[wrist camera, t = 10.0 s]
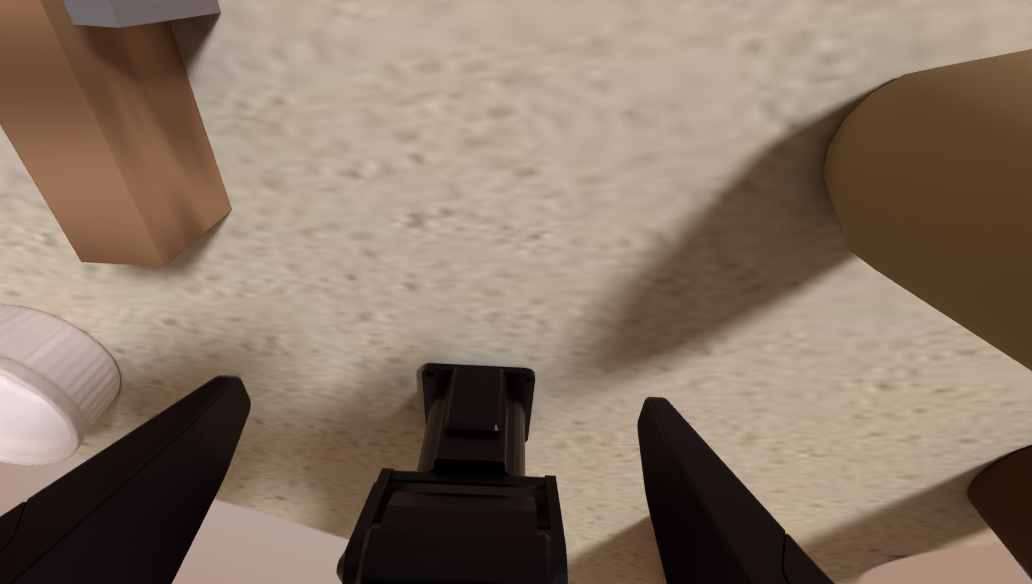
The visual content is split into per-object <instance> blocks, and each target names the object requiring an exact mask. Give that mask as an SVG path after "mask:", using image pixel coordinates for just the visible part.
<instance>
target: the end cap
mask: <svg viewBox="0 0 1032 584" xmlns="http://www.w3.org/2000/svg"><path fill="white" fill-rule="evenodd" d="M63 2H64V4H65V7H66V9H67V11H68V13H69V16H70V18H71V20H72V22H73V25H87V26H102V27H116V28H121V27H128V26H135V25H141V24H148V23H155V22H162V21H168V20H175V19H182V18H188V17H195V16H202V15H209V14H215V13H221V12H220V8H219V5H218V1H217V0H63Z"/></svg>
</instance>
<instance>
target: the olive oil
mask: <svg viewBox="0 0 1032 584" xmlns="http://www.w3.org/2000/svg"><path fill="white" fill-rule="evenodd" d="M969 500H970V502H971V503H972V505H973V506H974V508H975V509H976V510H977V511H978V513H979V514H980V515H981V516H982V518H983V519H984V520H985V521H986V523H987V524H988V525H989V526H990V528H991V529H992V530H993V531H994V533H995V534H996V535H997V536H998V538H999V539H1000V540H1001V541H1002V543H1003V544H1004V545H1005V546H1006V548H1007V549H1008V550H1009V551H1010V553H1011V554H1012V555H1013V556H1014V558H1015V559H1016V561H1017V562H1018V563H1019V564H1020V566H1021V567H1022V568H1023V570H1024V571H1025V572H1026V573H1027V575H1028V576H1029V577H1030V578H1031V580H1032V447H1030V448H1027V449H1024V450H1022V451H1019V452H1017V453H1015V454H1012V455H1010V456H1008V457H1006V458H1004V459H1002V460H1000V461H999V462H997V463H995V464H994V465H992V466H991V467H989V468H988V469H986V470H985V471H984V472H983V473H981V474H980V475H979V476H978V477H977V478H976V479H975V481H974V482H973V483H972V485H971V487H970V489H969Z"/></svg>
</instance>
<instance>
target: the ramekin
mask: <svg viewBox="0 0 1032 584" xmlns="http://www.w3.org/2000/svg"><path fill="white" fill-rule="evenodd" d="M119 388H120V374H119V371H118V368H117V366H116V364H115V362H114V360H113V359H112V357H111V356H110V354H109V353H108V352H107V351H106V350H105V349H104V348H103V347H102V346H101V345H100V344H99V343H98V342H97V341H96V340H95V339H93V338H92V337H91V336H90V335H88V334H87V333H85V332H84V331H82V330H81V329H79V328H78V327H76V326H74V325H72V324H70V323H69V322H67V321H64V320H62V319H60V318H58V317H56V316H53V315H51V314H48V313H44V312H41V311H38V310H34V309H30V308H25V307H19V306H11V305H0V462H6V463H12V464H21V465H46V464H53V463H57V462H61V461H63V460H66V459H68V458H69V457H71V456H72V455H73V454H74V453H75V452H76V451H77V449H78V448H79V447H80V445H81V443H82V442H83V439H84V437H85V434H86V433H87V432H88V431H89V429H90V428H91V427H92V426H93V424H94V423H95V422H96V421H97V419H98V418H99V417H100V416H101V415H102V413H103V412H104V411H105V410H106V408H107V407H108V406H109V405H110V404H111V402H112V401H113V399H114V398H115V397H116V395H117V393H118V391H119Z"/></svg>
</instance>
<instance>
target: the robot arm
mask: <svg viewBox="0 0 1032 584" xmlns="http://www.w3.org/2000/svg"><path fill="white" fill-rule="evenodd" d="M431 372H433V373H431ZM526 376H527V378H526ZM422 381H423V393H424V404H425V416H426V430H425V435H424V440H423V445H422V450H421V455H420V459H419V464H418V469H417V472H416V471H394V469H391V468H382V470H381V472H380V475H379V477H378V479H377V482H374V484H373V486H372V489H371V491H370V493H369V496H368V498H367V500H366V503H365V505H364V507H363V510H362V512H361V514H360V517H359V519H358V522H357V524H356V526H355V529H354V531H353V533H352V536H351V538H350V540H349V543H348V545H347V547H346V550H345V551H344V553H343V555H342V556H341V558H340V559H339V562H338V565H337V575H338V577H339V579H340V580H341V582H342V584H568V573H567V554H566V544H565V536H564V530H563V523H562V516H561V509H560V502H559V495H558V489H557V482H556V476H549V475H545V477H529V476H525V442H526V441H527V440H528V434H529V426H530V417H531V409H532V401H533V393H534V385H535V372H534V371H533V370H531V369H528V368H509V367H490V366H470V365H451V364H427V365H425V366H424V368H423V372H422ZM250 407H251V403H250V399H249V396H248V394H247V391H246V389H245V387H244V384H243V382H242V380H241V378H239V377H238V376H228V375H220V376H217V377H215V378H213V379H212V380H210V381H209V382H207V383H205V384H204V385H202V386H201V387H199V388H198V389H196V390H195V391H193V392H192V393H190V394H188V395H187V396H185V397H184V398H182V399H181V400H179V401H178V402H176V403H175V404H173V405H172V406H170V407H168V408H167V409H165V410H164V411H162V412H161V413H159V414H158V415H156V416H155V417H153V418H151V419H150V420H148V421H147V422H145V423H144V424H142V425H141V426H139V427H138V428H136V429H135V430H133V431H131V432H130V433H128V434H127V435H125V436H124V437H122V438H121V439H119V440H118V441H116V442H115V443H113V444H111V445H110V446H108V447H107V448H105V449H104V450H102V451H101V452H99V453H98V454H96V455H94V456H93V457H91V458H90V459H88V460H87V461H85V462H84V463H82V464H81V465H79V466H78V467H76V468H74V469H73V470H71V471H70V472H68V473H67V474H65V475H64V476H62V477H61V478H59V479H58V480H56V481H54V482H53V483H51V484H50V485H48V486H47V487H45V488H44V489H42V490H40V491H39V492H37V493H36V494H34V495H33V496H31V497H30V498H28V500H27V502H22V503H20V504H19V505H17V506H16V507H14V508H13V509H11V510H10V511H8V512H7V513H5V514H3V515H2V516H0V584H172V582H173V580H174V578H175V576H176V574H177V572H178V570H179V568H180V566H181V564H182V562H183V560H184V558H185V556H186V554H187V552H188V550H189V548H190V546H191V544H192V542H193V540H194V538H195V536H196V534H197V532H198V530H199V528H200V526H201V524H202V522H203V520H204V518H205V516H206V514H207V512H208V510H209V508H210V506H211V504H212V502H213V500H214V498H215V496H216V494H217V492H218V490H219V488H220V486H221V484H222V482H223V480H224V477H225V475H226V473H227V470H228V468H229V465H230V463H231V460H232V457H233V455H234V452H235V449H236V447H237V444H238V441H239V439H240V436H241V433H242V431H243V428H244V425H245V422H246V420H247V417H248V414H249V412H250ZM638 437H639V445H640V454H641V462H642V470H643V478H644V486H645V493H646V498H647V503H648V508H649V512H650V516H651V520H652V524H653V528H654V533H655V537H656V541H657V545H658V549H659V554H660V558H661V562H662V566H663V570H664V575H665V579H666V583H667V584H835V583H834V582H833V581H832V580H831V579H830V578H829V577H828V576H827V575H826V574H825V573H824V572H823V571H822V570H821V569H820V568H819V567H818V566H817V565H816V563H815V562H814V561H813V560H812V559H811V558H810V557H809V556H808V555H807V554H806V553H805V552H804V551H803V550H802V548H801V547H800V546H799V545H798V544H797V543H796V542H795V541H794V540H793V538H792V537H791V536H790V535H789V534H785V530H784V529H783V528H782V526H781V525H780V524H779V523H778V522H777V521H776V520H775V519H774V518H773V516H772V515H771V514H770V513H769V512H768V511H767V510H766V509H765V508H764V507H763V505H762V504H761V503H760V502H759V501H758V500H757V499H756V498H755V497H754V495H753V494H752V493H751V492H750V491H749V490H748V489H747V488H746V487H745V485H744V484H743V483H742V482H741V481H740V480H739V479H738V478H737V477H736V475H735V474H734V473H733V472H732V471H731V470H730V469H729V468H728V467H727V466H726V464H725V463H724V462H723V461H722V460H721V459H720V458H719V457H718V456H717V454H716V453H715V452H714V451H713V450H712V449H711V448H710V447H709V446H708V444H707V443H706V442H705V441H704V440H703V439H702V438H701V437H700V436H699V434H698V433H697V432H696V431H695V430H694V429H693V428H692V427H691V426H690V425H689V423H688V422H687V421H686V420H685V419H684V418H683V417H682V416H681V415H680V413H679V412H678V411H677V410H676V409H675V408H674V407H673V406H672V405H671V403H670V402H669V401H668V400H667V399H665V398H662V397H647V398H646V399H645V401H644V404H643V407H642V410H641V413H640V416H639V419H638Z"/></svg>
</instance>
